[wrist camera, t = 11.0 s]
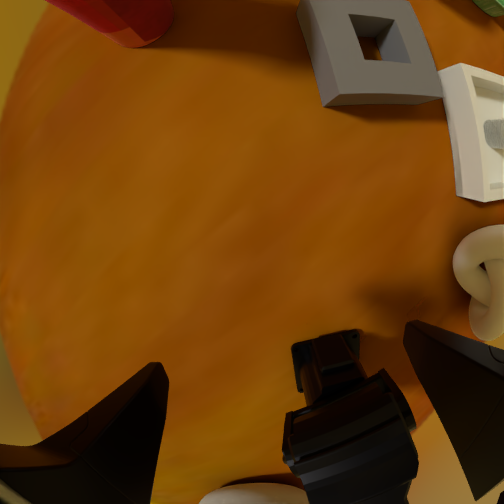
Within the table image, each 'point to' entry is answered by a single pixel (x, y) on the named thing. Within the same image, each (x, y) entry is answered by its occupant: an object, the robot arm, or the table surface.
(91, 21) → the paper cup
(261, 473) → the table surface
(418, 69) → the block
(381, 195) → the table surface
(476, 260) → the white knot sculpture
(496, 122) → the pin
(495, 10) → the ramekin
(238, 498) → the serving bowl
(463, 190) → the tray
